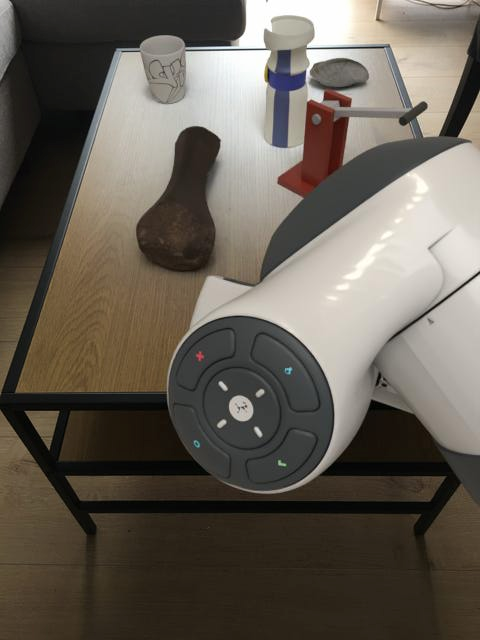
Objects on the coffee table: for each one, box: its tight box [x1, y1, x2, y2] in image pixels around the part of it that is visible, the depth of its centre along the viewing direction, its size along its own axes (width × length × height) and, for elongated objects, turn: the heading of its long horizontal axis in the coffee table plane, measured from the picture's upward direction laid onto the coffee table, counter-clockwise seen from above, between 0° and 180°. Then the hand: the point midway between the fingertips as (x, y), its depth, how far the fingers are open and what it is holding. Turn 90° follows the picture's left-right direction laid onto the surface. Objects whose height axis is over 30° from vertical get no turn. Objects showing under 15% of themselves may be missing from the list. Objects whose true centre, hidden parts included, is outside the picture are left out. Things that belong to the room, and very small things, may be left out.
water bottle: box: [263, 0, 316, 149], centre depth 89 cm, size 8×9×25 cm
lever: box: [320, 100, 429, 127], centre depth 75 cm, size 16×5×2 cm, turn 47°
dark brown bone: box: [135, 125, 222, 272], centre depth 83 cm, size 11×10×28 cm
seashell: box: [309, 57, 370, 88], centre depth 108 cm, size 12×8×5 cm
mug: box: [139, 34, 187, 105], centre depth 105 cm, size 11×8×10 cm
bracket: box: [277, 88, 353, 199], centre depth 83 cm, size 11×9×15 cm
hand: (335, 338), depth 48 cm, fingers open, 8 cm apart
